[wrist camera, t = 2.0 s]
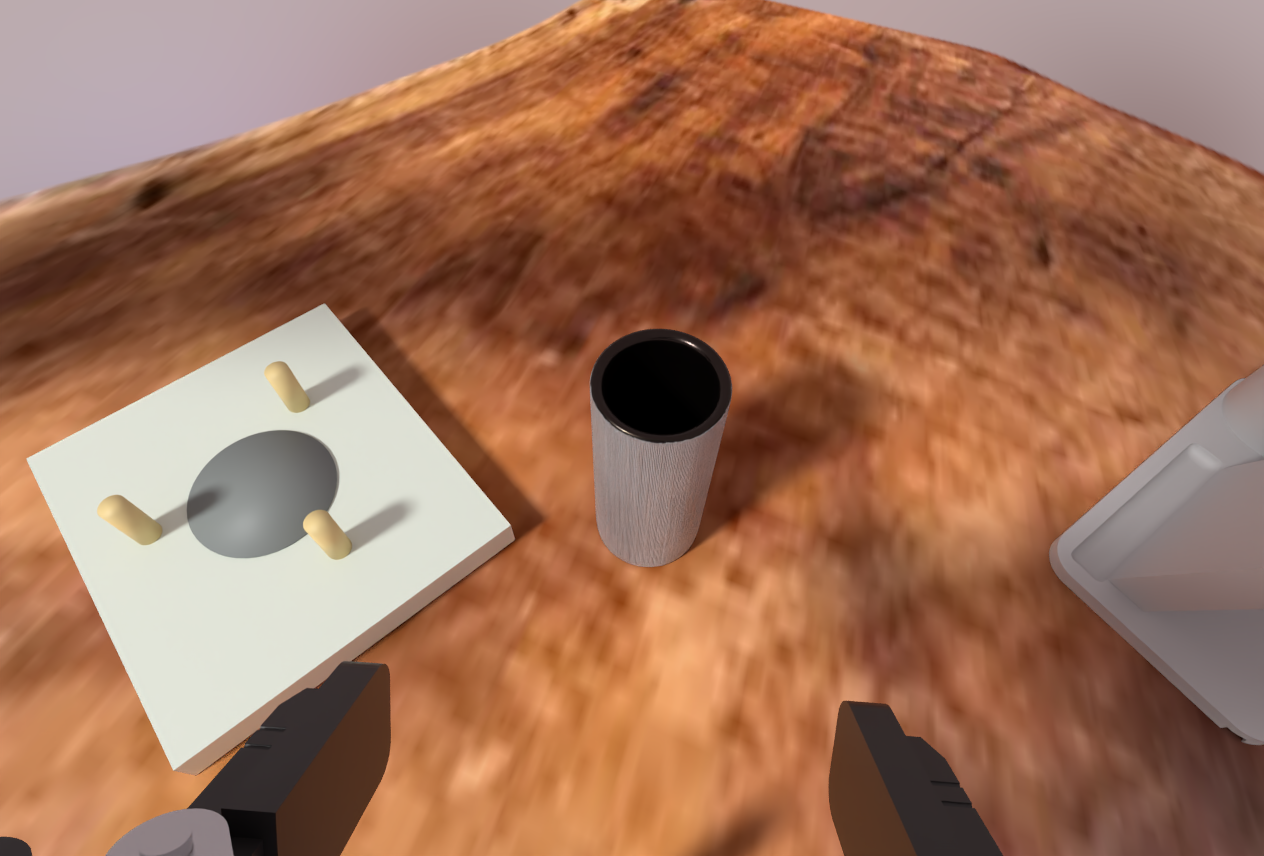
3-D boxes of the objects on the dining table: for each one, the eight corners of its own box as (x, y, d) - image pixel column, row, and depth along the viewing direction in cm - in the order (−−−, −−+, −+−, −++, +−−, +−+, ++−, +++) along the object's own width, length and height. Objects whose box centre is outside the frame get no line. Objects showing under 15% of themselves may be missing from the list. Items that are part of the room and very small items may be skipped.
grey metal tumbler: (685, 581, 29) (715, 459, 20) (582, 551, 30) (569, 420, 21) (709, 489, 32) (745, 344, 23) (613, 463, 32) (614, 313, 23)
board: (50, 475, 31) (-19, 427, 28) (334, 322, 36) (306, 266, 33) (195, 775, 25) (130, 760, 21) (515, 539, 30) (502, 497, 27)
